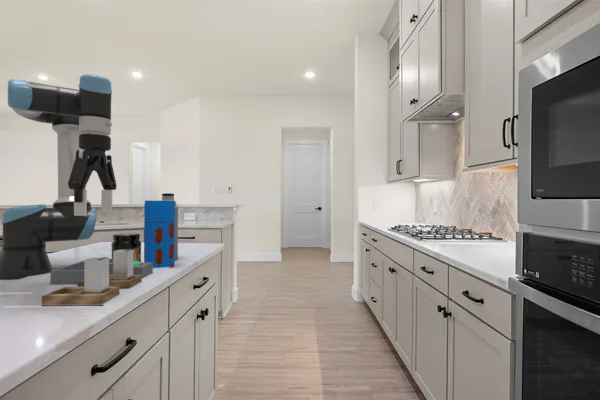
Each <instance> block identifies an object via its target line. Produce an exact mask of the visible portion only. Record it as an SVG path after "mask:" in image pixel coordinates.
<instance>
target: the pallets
mask: <svg viewBox="0 0 600 400" xmlns="http://www.w3.org/2000/svg"><path fill="white" fill-rule="evenodd" d="M142 279H143V278H142V275H133V278H132V279H130V280H113V275H109V291H107V292H105V293H103V294H84V279H83V280H81V281H78V282H77V284H76V285H77V286H63V287H61V288H58V289H56V290H53V291H51V292H48V293H45V294H43V295H41V307H103V306H104V304H106V303H107V302H109V301H110V300H112V299H113V298H116V297H117V296H119V295H120V290H121V289H122V290H123V289H125V290H127V289H131V288H132V287H134V286H136V285H138V284H140V283H142V281H143V280H142Z"/></svg>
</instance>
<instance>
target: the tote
mask: <svg viewBox="0 0 600 400" xmlns="http://www.w3.org/2000/svg"><path fill="white" fill-rule="evenodd" d="M85 260H86V259H84V260H82V261H81V260H80V261H78V262H74V263H71V264H68V265H65V266H62V267H58V268H56V269H52V270H51V271H50V272H49V273H50V276H49V277H50V283H49V284H50V285H77V282H78V281H81V280H83V279H84V261H85ZM109 275H113V259H112V258H109Z"/></svg>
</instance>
